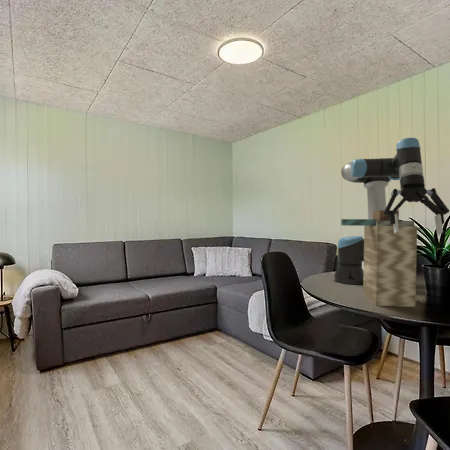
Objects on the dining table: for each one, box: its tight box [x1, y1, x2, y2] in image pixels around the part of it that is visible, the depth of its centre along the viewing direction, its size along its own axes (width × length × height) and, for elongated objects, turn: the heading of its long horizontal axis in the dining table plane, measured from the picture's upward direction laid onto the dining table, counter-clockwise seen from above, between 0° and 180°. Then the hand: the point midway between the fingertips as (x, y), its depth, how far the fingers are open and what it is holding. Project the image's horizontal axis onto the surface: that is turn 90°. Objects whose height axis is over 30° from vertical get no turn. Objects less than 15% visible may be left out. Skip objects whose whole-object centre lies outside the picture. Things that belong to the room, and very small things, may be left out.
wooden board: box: [362, 220, 418, 308], centre depth 120 cm, size 14×14×32 cm
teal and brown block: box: [340, 209, 400, 227], centre depth 120 cm, size 20×7×6 cm, turn 84°
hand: (417, 233), depth 105 cm, fingers open, 13 cm apart
